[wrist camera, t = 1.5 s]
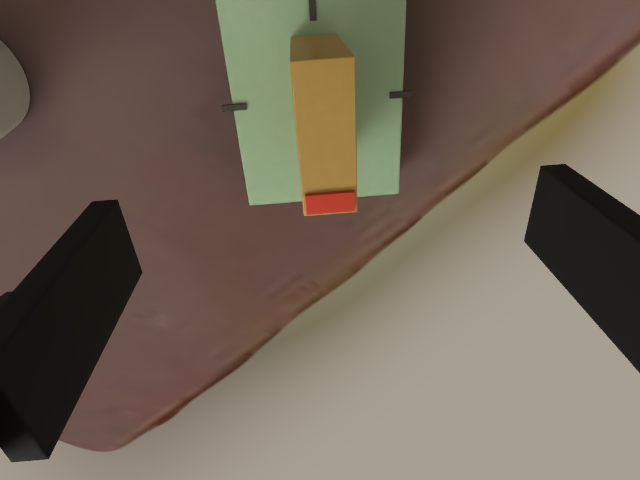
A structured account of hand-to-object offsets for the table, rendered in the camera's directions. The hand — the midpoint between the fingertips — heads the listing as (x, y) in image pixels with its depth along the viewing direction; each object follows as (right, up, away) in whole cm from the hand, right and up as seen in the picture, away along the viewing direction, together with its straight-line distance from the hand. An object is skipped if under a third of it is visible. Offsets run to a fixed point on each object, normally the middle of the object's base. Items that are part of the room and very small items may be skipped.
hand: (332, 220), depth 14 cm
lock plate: (-1, +9, +14) cm, 17 cm away
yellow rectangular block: (-1, +8, +11) cm, 14 cm away
